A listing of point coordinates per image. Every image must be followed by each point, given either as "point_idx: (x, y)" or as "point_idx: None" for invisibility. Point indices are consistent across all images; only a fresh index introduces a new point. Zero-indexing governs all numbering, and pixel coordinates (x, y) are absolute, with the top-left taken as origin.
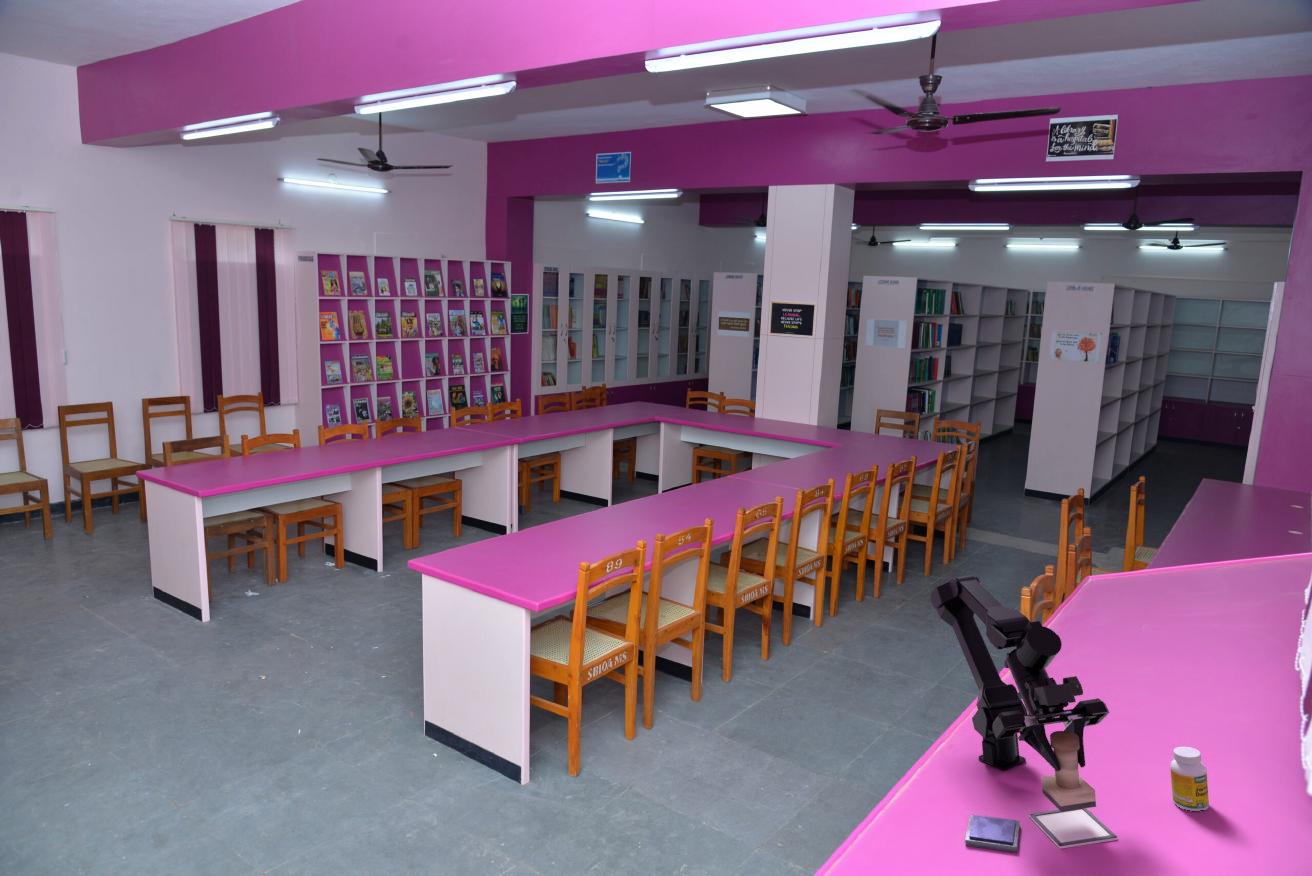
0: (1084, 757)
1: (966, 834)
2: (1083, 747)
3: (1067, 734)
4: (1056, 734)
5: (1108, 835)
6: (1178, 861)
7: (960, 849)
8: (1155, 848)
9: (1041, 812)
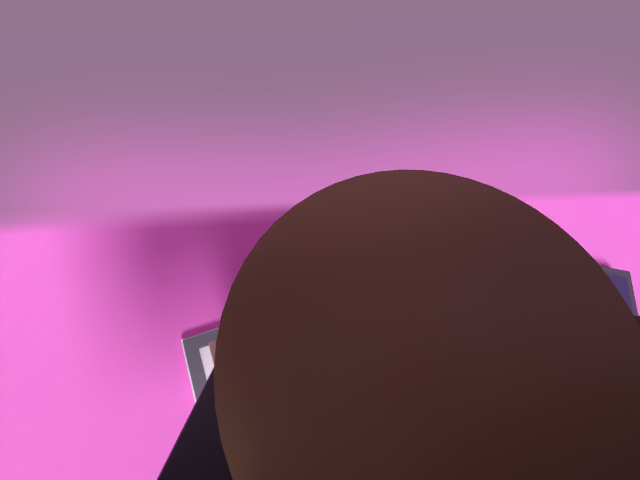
0: (209, 377)
1: (634, 299)
2: (176, 446)
3: (387, 457)
4: (571, 453)
5: (208, 344)
6: (53, 239)
7: (623, 259)
8: (85, 300)
9: None
